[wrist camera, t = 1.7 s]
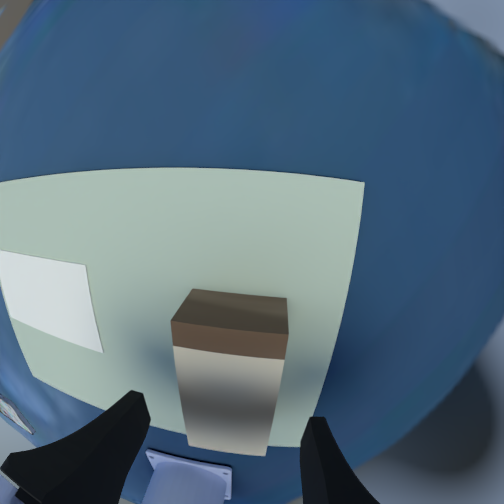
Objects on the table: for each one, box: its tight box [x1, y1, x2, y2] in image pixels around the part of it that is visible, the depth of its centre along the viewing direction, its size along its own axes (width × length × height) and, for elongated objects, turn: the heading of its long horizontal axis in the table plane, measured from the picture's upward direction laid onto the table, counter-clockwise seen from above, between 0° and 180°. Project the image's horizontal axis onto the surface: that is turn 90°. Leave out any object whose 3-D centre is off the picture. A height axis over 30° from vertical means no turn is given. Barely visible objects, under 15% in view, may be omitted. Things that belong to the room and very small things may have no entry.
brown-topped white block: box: [170, 288, 289, 456], centre depth 12 cm, size 9×4×3 cm, turn 176°
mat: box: [0, 168, 364, 447], centre depth 14 cm, size 18×25×1 cm
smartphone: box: [0, 394, 35, 435], centre depth 24 cm, size 7×1×15 cm
